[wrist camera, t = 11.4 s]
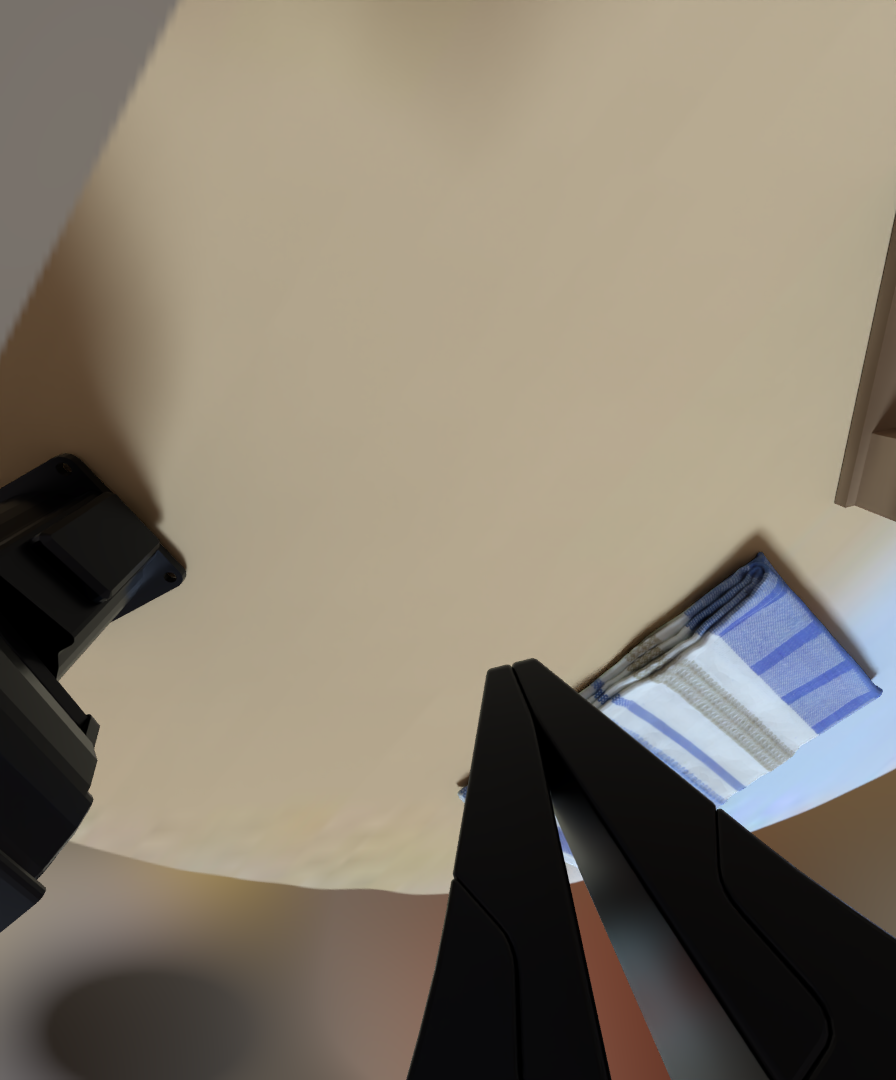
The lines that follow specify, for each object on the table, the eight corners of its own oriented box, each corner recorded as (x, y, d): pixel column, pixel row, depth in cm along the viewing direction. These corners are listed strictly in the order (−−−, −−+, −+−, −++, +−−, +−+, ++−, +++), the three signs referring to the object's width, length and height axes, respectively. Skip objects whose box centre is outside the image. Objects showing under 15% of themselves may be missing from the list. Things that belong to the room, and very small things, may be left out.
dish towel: (447, 785, 30) (453, 828, 27) (746, 534, 24) (788, 559, 21) (603, 861, 36) (620, 901, 34) (866, 679, 31) (909, 711, 28)
